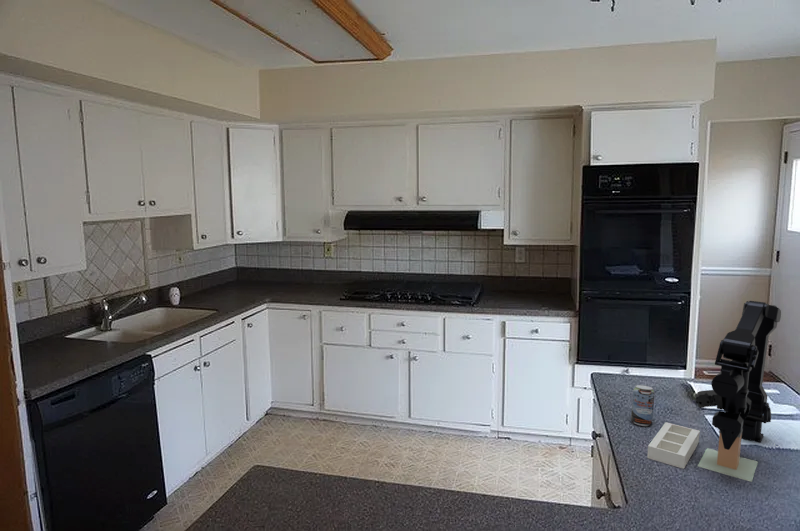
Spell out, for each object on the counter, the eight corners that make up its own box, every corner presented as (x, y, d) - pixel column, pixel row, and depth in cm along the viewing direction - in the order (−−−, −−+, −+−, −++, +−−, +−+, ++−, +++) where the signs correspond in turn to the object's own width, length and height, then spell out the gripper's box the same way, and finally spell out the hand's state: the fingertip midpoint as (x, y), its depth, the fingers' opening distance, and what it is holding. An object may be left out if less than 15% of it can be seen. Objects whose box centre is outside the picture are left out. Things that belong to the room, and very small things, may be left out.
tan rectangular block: (719, 457, 145) (722, 423, 144) (739, 462, 142) (742, 428, 141) (716, 464, 142) (719, 429, 140) (736, 470, 139) (739, 434, 137)
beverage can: (630, 427, 165) (632, 390, 163) (630, 417, 172) (632, 381, 170) (653, 430, 162) (655, 392, 161) (652, 420, 169) (654, 384, 167)
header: (664, 434, 160) (665, 422, 159) (698, 443, 154) (699, 430, 153) (647, 459, 146) (648, 445, 145) (683, 470, 140) (684, 456, 140)
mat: (706, 449, 150) (707, 447, 150) (757, 463, 143) (758, 461, 143) (697, 468, 141) (697, 465, 141) (751, 483, 134) (751, 481, 134)
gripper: (706, 368, 151) (702, 421, 153) (691, 389, 136) (687, 446, 139) (753, 377, 144) (748, 432, 146) (743, 400, 129) (737, 460, 132)
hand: (729, 442), depth 141 cm, fingers open, 9 cm apart
